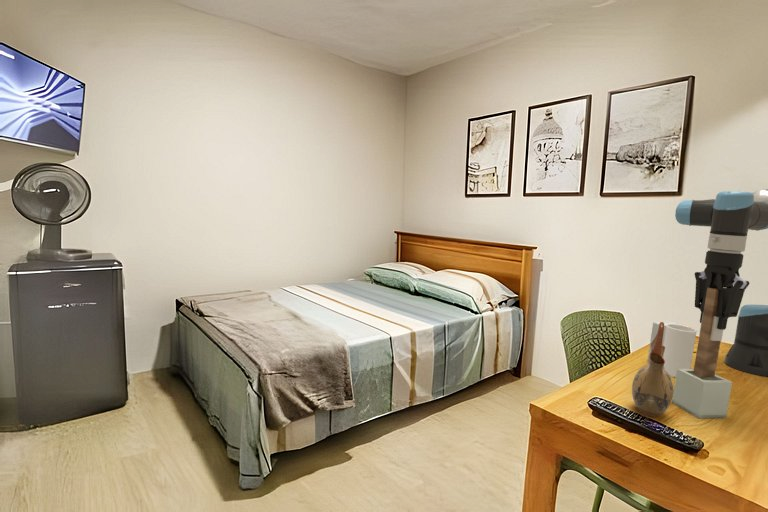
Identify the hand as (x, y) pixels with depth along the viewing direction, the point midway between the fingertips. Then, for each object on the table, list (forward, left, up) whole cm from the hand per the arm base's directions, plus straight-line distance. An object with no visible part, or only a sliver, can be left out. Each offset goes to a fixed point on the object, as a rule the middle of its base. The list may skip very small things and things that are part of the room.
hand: (710, 338), depth 110 cm
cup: (-15, -24, -21) cm, 35 cm away
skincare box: (-18, -32, -21) cm, 42 cm away
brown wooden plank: (0, 0, -11) cm, 11 cm away
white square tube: (0, 0, -21) cm, 21 cm away
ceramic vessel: (+16, +1, -21) cm, 26 cm away
